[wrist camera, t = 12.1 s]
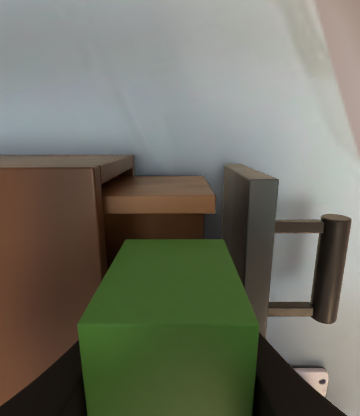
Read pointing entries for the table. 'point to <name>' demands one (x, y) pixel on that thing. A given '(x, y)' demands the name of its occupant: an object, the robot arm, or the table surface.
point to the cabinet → (49, 256)
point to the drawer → (229, 231)
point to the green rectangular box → (169, 333)
